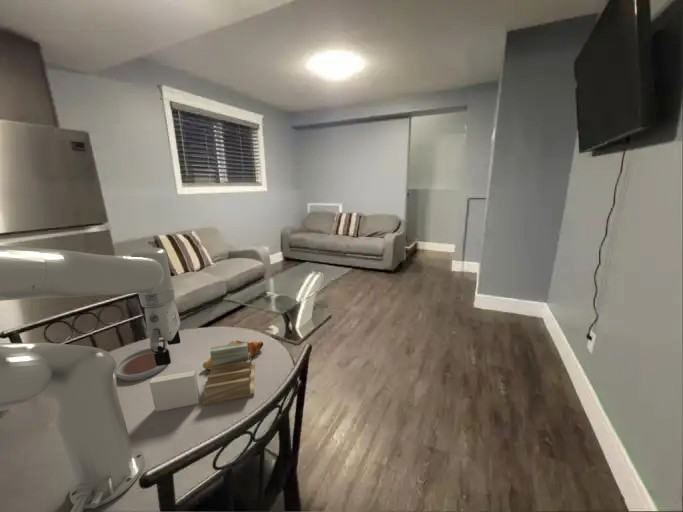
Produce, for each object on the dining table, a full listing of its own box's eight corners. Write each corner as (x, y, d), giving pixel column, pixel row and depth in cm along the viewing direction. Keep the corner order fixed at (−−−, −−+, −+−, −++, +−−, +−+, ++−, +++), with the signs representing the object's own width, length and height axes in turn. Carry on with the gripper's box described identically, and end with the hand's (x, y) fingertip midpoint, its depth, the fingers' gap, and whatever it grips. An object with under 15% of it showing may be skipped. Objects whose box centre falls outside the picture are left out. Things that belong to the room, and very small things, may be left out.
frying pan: (70, 372, 94) (167, 340, 110) (73, 379, 94) (169, 346, 111) (65, 402, 81) (176, 361, 98) (68, 410, 82) (177, 368, 98)
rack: (254, 395, 85) (250, 365, 82) (203, 405, 82) (198, 374, 79) (254, 364, 99) (252, 338, 96) (211, 372, 95) (207, 344, 93)
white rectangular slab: (198, 403, 82) (193, 375, 80) (155, 411, 80) (149, 383, 77) (200, 397, 84) (195, 370, 82) (158, 406, 82) (152, 377, 79)
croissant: (207, 384, 95) (206, 372, 90) (198, 359, 101) (197, 346, 96) (267, 358, 107) (269, 347, 103) (256, 337, 113) (258, 325, 108)
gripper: (163, 308, 66) (176, 371, 71) (181, 282, 82) (191, 334, 87) (126, 313, 64) (141, 377, 69) (152, 285, 80) (163, 338, 85)
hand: (169, 353), depth 78 cm, fingers open, 9 cm apart
